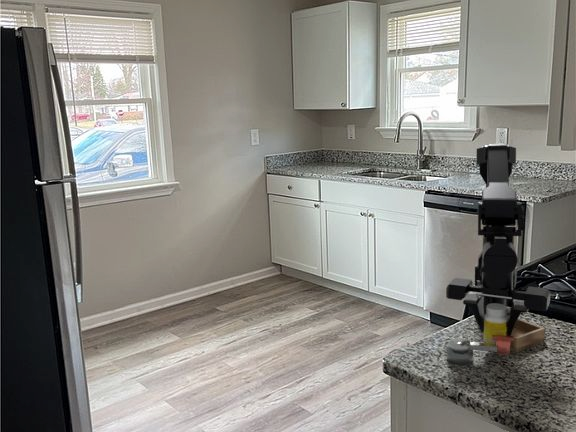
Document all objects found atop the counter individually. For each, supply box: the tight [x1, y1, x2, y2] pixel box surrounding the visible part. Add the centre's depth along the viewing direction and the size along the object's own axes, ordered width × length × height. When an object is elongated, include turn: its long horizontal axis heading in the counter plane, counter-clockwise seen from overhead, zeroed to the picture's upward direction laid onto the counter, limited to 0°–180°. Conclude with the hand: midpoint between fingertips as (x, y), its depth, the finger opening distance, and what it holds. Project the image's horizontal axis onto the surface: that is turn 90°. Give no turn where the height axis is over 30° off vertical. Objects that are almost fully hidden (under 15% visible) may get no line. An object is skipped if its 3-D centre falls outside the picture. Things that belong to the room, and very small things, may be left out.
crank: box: [449, 335, 514, 356], centre depth 110 cm, size 12×4×3 cm, turn 74°
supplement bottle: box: [482, 303, 509, 344], centre depth 113 cm, size 5×5×8 cm
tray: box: [482, 315, 546, 353], centre depth 119 cm, size 9×9×3 cm
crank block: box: [446, 346, 474, 366], centre depth 112 cm, size 5×5×2 cm
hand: (496, 334), depth 113 cm, fingers closed on supplement bottle, 5 cm apart
